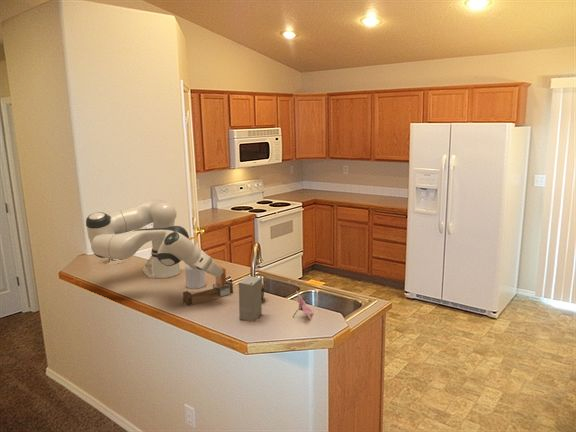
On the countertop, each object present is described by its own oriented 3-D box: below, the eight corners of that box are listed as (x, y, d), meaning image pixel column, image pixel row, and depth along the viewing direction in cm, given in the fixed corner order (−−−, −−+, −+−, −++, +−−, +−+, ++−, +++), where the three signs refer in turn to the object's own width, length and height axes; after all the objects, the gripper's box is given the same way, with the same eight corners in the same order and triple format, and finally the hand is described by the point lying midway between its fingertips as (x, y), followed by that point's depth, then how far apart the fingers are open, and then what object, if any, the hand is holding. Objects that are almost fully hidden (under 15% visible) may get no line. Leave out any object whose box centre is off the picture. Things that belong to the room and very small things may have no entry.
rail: (183, 302, 201) (182, 292, 200) (228, 290, 215) (227, 280, 214) (187, 305, 198) (187, 294, 197) (233, 292, 212) (232, 282, 211)
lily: (300, 328, 175) (312, 307, 174) (277, 311, 180) (289, 290, 179) (313, 326, 185) (325, 306, 184) (291, 310, 191) (302, 290, 190)
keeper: (213, 293, 212) (211, 267, 210) (222, 290, 215) (221, 265, 213) (220, 296, 207) (219, 270, 205) (230, 294, 210) (228, 268, 208)
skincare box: (247, 312, 189) (246, 275, 186) (263, 314, 187) (262, 276, 184) (238, 320, 182) (236, 281, 179) (254, 322, 179) (253, 283, 176)
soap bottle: (201, 289, 218) (198, 238, 214) (183, 288, 220) (179, 238, 216) (208, 283, 227) (205, 234, 222) (190, 282, 229) (187, 234, 224)
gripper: (181, 259, 207) (201, 276, 215) (203, 269, 191) (224, 286, 199) (189, 248, 209) (209, 265, 217) (212, 257, 193) (233, 274, 201)
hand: (217, 275), depth 208 cm, fingers closed
